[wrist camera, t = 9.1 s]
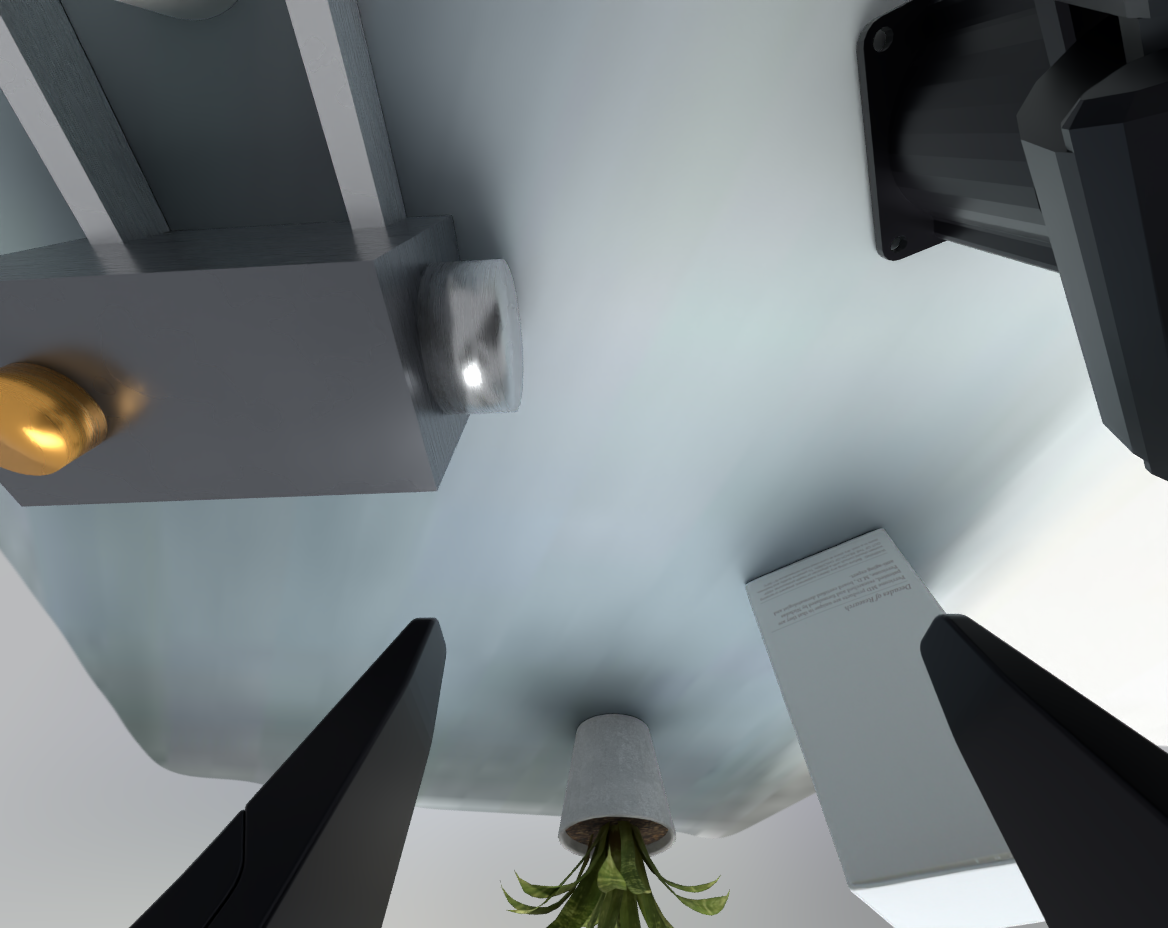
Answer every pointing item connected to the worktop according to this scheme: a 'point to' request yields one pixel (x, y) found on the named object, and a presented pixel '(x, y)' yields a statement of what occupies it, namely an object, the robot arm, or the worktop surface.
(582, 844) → the house plant
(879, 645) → the supplement box
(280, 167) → the worktop surface
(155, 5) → the bottle
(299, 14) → the motor clip
